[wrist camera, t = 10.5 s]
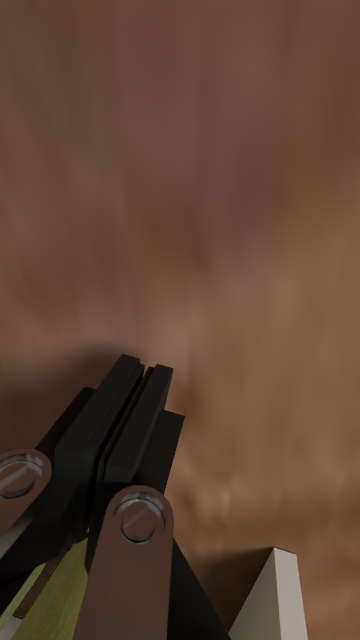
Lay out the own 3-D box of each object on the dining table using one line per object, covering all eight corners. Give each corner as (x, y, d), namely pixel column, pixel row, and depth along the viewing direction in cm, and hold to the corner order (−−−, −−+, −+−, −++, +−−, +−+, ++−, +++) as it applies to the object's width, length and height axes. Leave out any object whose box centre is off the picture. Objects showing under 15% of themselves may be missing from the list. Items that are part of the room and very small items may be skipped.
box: (296, 554, 15) (312, 676, 11) (211, 698, 21) (204, 806, 17) (-27, 448, 16) (-107, 525, 12) (-15, 613, 22) (-66, 696, 19)
